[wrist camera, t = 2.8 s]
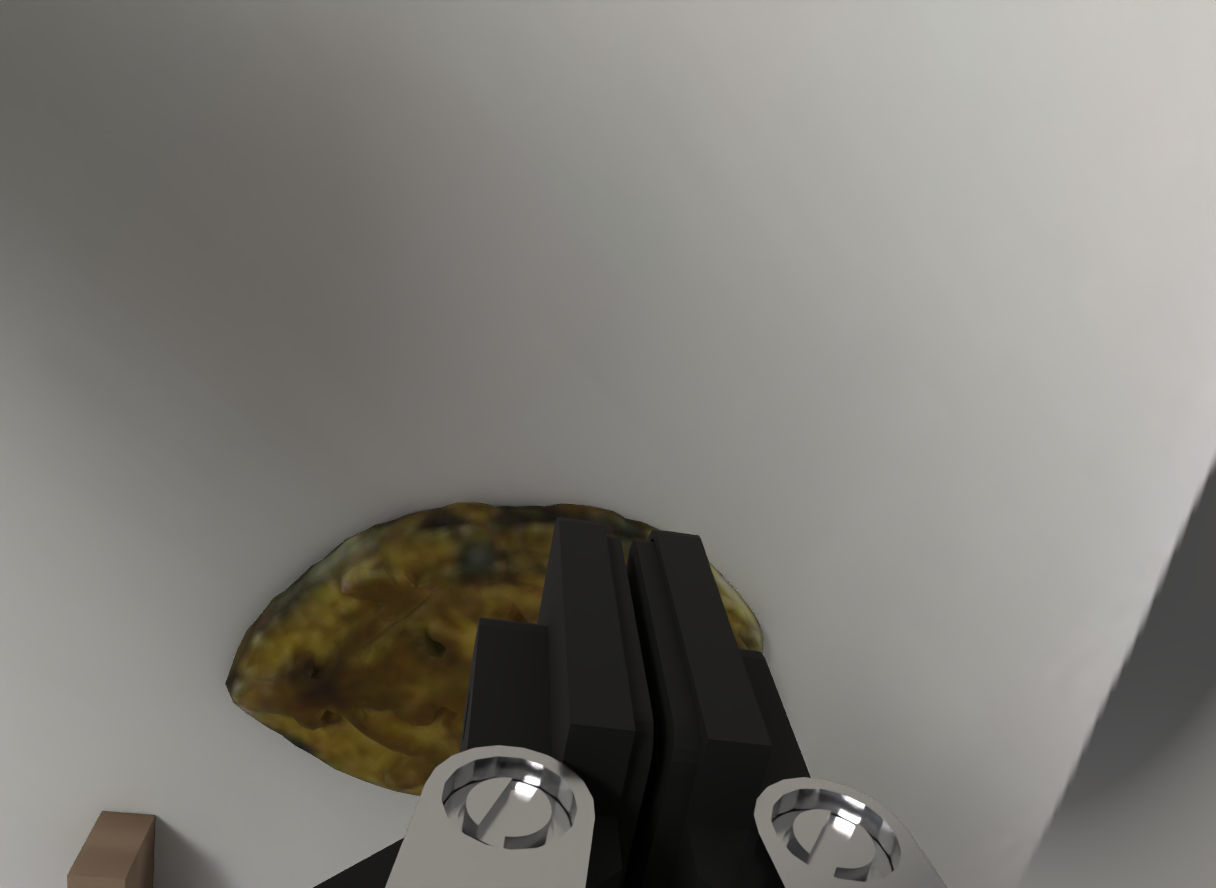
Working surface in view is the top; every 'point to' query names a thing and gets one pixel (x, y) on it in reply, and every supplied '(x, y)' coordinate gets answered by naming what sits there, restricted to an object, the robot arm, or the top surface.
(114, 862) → the wooden step block
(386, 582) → the mottled yellow-brown oval piece
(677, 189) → the top surface
